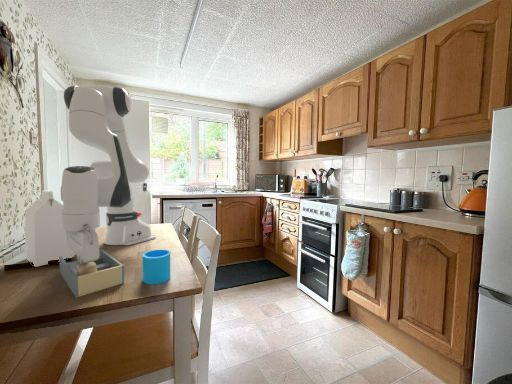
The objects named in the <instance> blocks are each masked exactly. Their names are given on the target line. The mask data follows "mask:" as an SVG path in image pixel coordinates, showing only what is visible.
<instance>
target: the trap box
mask: <svg viewBox="0 0 512 384" xmlns="http://www.w3.org/2000/svg"><path fill="white" fill-rule="evenodd" d="M58 262H59V274H60V275H61V277H62V278H63V280H64V282H65V283H66V285H67V287H68V288H69V290H70V291H71V292H72V294H73V296H74V297H75V298H79V297H82V296H86V295H89V294H92V293H95V292H100V291H102V290H105V289H106V290H107V289H109V288H112V287H116V286H119V285H122V284H124V283H125V265H124V264H123V263H121V262H120V261H118V260H117V259H116V258H114V256H112V255H111V254H109V253H108V252H106V251H105V250H104V249H103V248H99V259H98V260H94V261H90V262H94V263H95V264H96V265H97V272H93V273H89V274H85V275H81V276H77V265H78V260H74V261H68V262H67V261H66V260H64V259H63V258H62V256H61V257H59V261H58ZM88 263H89V262H88Z"/></svg>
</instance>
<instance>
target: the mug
mask: <svg viewBox="0 0 512 384" xmlns="http://www.w3.org/2000/svg"><path fill="white" fill-rule="evenodd" d="M170 279H171V251H170V250H168V249H153V250H148V251H146V252H144V253H143V254H142V282H143V283H145V284H146V285H158V284H162V283H165V282H168V281H169V280H170Z"/></svg>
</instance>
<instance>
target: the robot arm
mask: <svg viewBox="0 0 512 384" xmlns="http://www.w3.org/2000/svg"><path fill="white" fill-rule="evenodd" d="M63 101H64V103H65V107H66V108H67V109H68V129H69V131H70V133H71V134H72V136H73V137H74V138H75V139H76V140H78V141H79V142H81V143H83V144H84V145H87V146H89V147H92V148H94V149H98V150H100V151H102V152H104V153H106V154H107V155H108V156H109V158H110V159H101V160H100V159H99V160H95V161H92V163H91V164H90V166H86V165H85V166H84V165H83V166H82V165H78V166H77V165H74V166H67V167H66V168H64V169H63V170H62V176H61V184H60V185H61V186H60V200H61V201H62V203H63V204H62V205H63V210H62V227H63V230H64V231H66V236H67V242H68V246H69V247H70V248H71V249H72V250H73V251H74V254H75V255H76V259H77V261H78V265H80V264H84V263H88V262H90V261H94V260H98V259H99V256H100V245H99V244H100V243H99V242H100V241H99V236H98V233H97V232H96V229H98V228H100V227H101V217H100V210H101V209H100V208H102V207H104V208H105V207H106V209H107V210H106V214H105V215H106V216H105V223H106V233H105V238H104V242H103V244H104V245H108V246H130V245H131V246H132V245H134V244H139V243H143V242H147V241H150V240H154V239H156V238H157V236H156V234H154V233H152V231H151V227H150V226H149V224H147V223H145V222H144V221H143V220H142V219H140V217H141V216H142V213H141V212H140V211H138V212H137V211H135V208H134V207H135V205H134V204H135V201H134V195H133V189H132V185H131V184H139V183H144V182H146V181H147V179H148V178H149V173H150V171H149V170H150V169H149V167H148V166H147V164H146V162H144V161H142V160H141V159H139V158H138V156H136V154H134V152H133V150H132V149H131V145H130V144H129V139H128V134H127V128H126V125H125V121H124V117H125V116H126V115H128V114H129V112H130V111H131V106H132V100H131V98H130V96H129V93H128V92H127V90H126V89H124V88H123V87H119V86H108V85H98V84H97V85H81V86H79V85H71V86H68V87H67V88H66V89H65V90H64V92H63ZM138 217H139V218H138Z"/></svg>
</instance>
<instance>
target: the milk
mask: <svg viewBox="0 0 512 384" xmlns="http://www.w3.org/2000/svg"><path fill="white" fill-rule="evenodd" d="M53 193H54V192H53V190H48V189H47V190H44V189H43V190H42V191H41V195H40V198H39V199H36V200H35V201H34V202H32V203H31V205H30V206H28V208H26V209H25V212H24V220H25V221H24V230H25V231H24V234H25V235H24V239H25V240H24V241H25V242H24V249H25V250H24V255H25V256H24V258H25V259H27V260H29V261H31V262H33V264H34V265H33V266H34V267H35V268H36V267H40V266H45V265H49V264H48V261H50V260H53V259H58V258H59V257H61V256H62V258H63V257H67V256H71V255H75V252H74V251H73V250H72V249H71V248H70V247H69V246H68V242H67V236H66V231H64V230H63V227H62V210H63V204H62V203H60V202H59V201H57V200H56V199H55V197H54V194H53ZM27 260H26V261H27Z"/></svg>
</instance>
